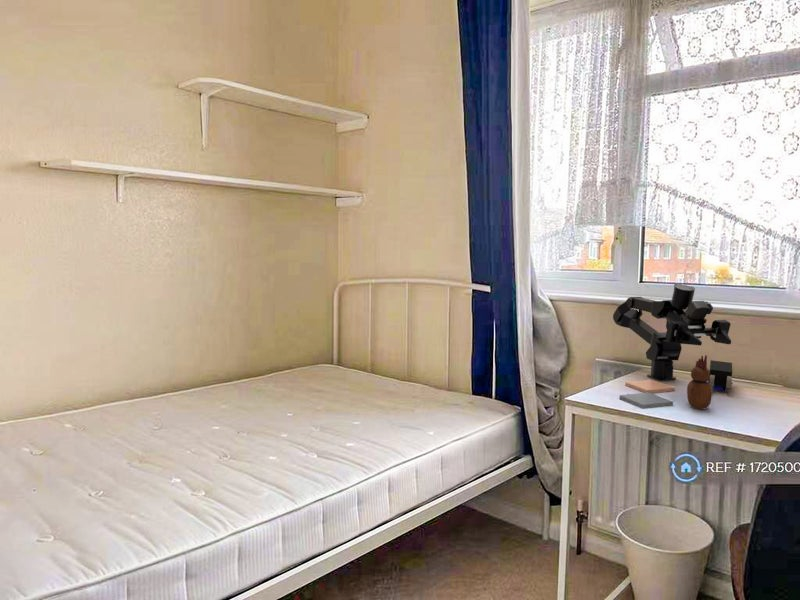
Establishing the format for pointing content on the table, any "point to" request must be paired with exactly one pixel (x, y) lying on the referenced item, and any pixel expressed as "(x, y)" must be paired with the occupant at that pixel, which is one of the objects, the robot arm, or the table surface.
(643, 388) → the terracotta tile
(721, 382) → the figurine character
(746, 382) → the table surface
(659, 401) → the slate tile
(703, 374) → the wooden figurine
